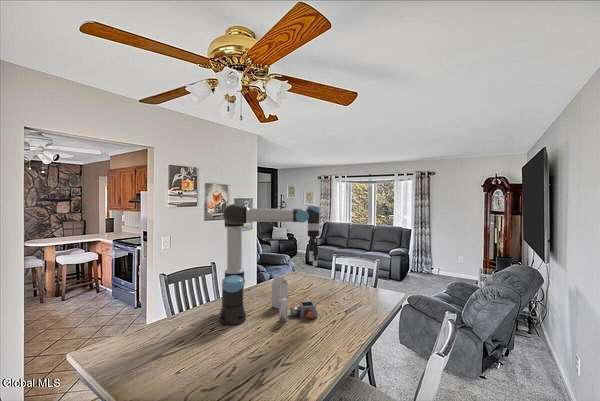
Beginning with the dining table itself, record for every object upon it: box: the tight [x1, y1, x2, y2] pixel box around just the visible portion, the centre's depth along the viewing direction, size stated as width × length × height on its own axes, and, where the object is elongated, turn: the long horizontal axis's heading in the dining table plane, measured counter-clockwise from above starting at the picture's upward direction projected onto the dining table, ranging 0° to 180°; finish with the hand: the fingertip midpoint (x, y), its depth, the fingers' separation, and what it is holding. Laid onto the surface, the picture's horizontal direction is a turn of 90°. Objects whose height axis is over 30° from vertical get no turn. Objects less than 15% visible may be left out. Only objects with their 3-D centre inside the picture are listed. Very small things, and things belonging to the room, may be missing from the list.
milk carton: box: [271, 275, 288, 309], centre depth 182 cm, size 7×7×19 cm
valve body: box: [289, 300, 318, 321], centre depth 167 cm, size 15×12×6 cm
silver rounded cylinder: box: [278, 297, 288, 323], centre depth 160 cm, size 5×5×12 cm
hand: (313, 263), depth 181 cm, fingers open, 13 cm apart
